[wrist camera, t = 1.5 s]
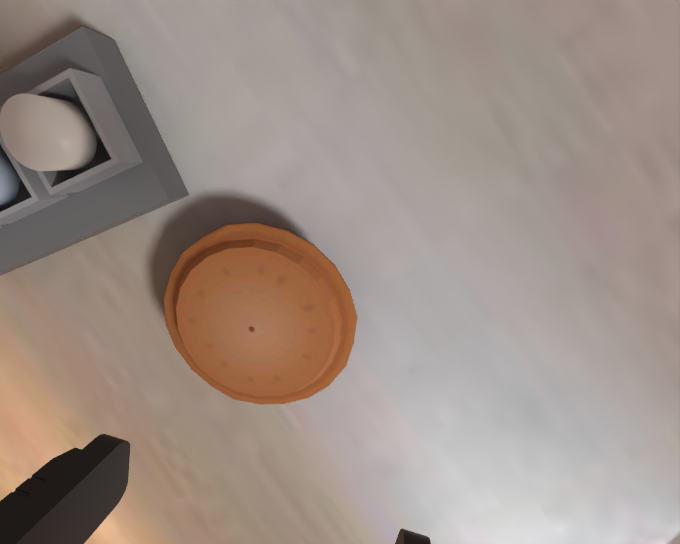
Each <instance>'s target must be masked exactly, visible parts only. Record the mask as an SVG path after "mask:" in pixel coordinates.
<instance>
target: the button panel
mask: <svg viewBox="0 0 680 544" xmlns="http://www.w3.org/2000/svg"><path fill="white" fill-rule="evenodd" d="M24 93H25V94H33V95H38V96H44V97H50V98H55V99H61V100H66V101H69V102H72V103H73V104H75V105H77V106H78V107H79V108H81V109H82V110H83V111H84V112H85V113H86V115H87V116H88V117H89V119H90V120H91V122H92V124H93V126H94V129H95V132H96V137H97V148H96V153H95V156H94V158H93V159H92V161H91V162H90V163H89V164H88V165H87V166H85V167H84V168H81V169H77V170H58V171H36V170H32V169H30V168H27V167H26V166H24V165H22V164H21V163H20V162H18V161H17V160H16V159H15V158H14V157H13V156H12V155H11V153H10V152H9V151H8V149H7V147H6V146H5V144H4V142H3V139H2V136H1V133H0V149H2V150H3V151H4V152H5V153H6V154H7V156H8V158H9V159H10V161H11V163H12V164H13V166H14V168H15V169H16V171H17V173H18V177H19V190H18V193H17V196H16V197H15V199H14V200H13V201H12V202H10V203H9V204H6V205H2V206H0V275H3V274H5V273H8V272H10V271H12V270H15V269H17V268H19V267H22V266H24V265H26V264H29V263H31V262H33V261H36V260H38V259H40V258H43V257H45V256H47V255H50V254H52V253H54V252H57V251H59V250H61V249H64V248H66V247H69V246H71V245H73V244H76V243H78V242H80V241H83V240H85V239H87V238H90V237H92V236H94V235H97V234H99V233H101V232H104V231H106V230H108V229H111V228H113V227H115V226H118V225H120V224H122V223H125V222H127V221H129V220H132V219H134V218H136V217H139V216H141V215H143V214H146V213H148V212H151V211H153V210H155V209H158V208H160V207H162V206H165V205H167V204H169V203H172V202H174V201H176V200H179V199H181V198H183V197H186V196H188V195H189V193H188V191H187V189H186V187H185V185H184V183H183V181H182V179H181V177H180V175H179V173H178V171H177V169H176V167H175V164H174V162H173V160H172V158H171V156H170V154H169V152H168V150H167V148H166V146H165V144H164V142H163V140H162V138H161V135H160V133H159V131H158V129H157V127H156V125H155V123H154V121H153V119H152V117H151V115H150V113H149V111H148V109H147V106H146V104H145V102H144V100H143V98H142V96H141V94H140V92H139V90H138V88H137V86H136V84H135V82H134V80H133V77H132V75H131V73H130V71H129V69H128V67H127V65H126V63H125V61H124V59H123V57H122V55H121V53H120V51H119V48H118V46H117V44H116V42H115V40H113V39H111V38H109V37H107V36H104V35H102V34H100V33H97V32H95V31H93V30H90V29H88V28H86V27H83V26H82V27H80V28H78V29H77V30H75V31H73V32H72V33H70V34H68V35H66V36H65V37H63V38H61V39H60V40H58V41H56V42H55V43H53V44H51V45H49V46H48V47H46V48H44V49H43V50H41V51H39V52H38V53H36V54H34V55H32V56H31V57H29V58H27V59H26V60H24V61H22V62H21V63H19V64H17V65H15V66H14V67H12V68H10V69H9V70H7V71H5V72H4V73H2V74H0V112H1V109H2V107H3V105H4V104H5V102H6V101H7V100H8V99H9V98H11V97H12V96H14V95H17V94H24Z"/></svg>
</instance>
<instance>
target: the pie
mask: <svg viewBox="0 0 680 544" xmlns="http://www.w3.org/2000/svg"><path fill="white" fill-rule="evenodd" d="M163 301H164V311H165V320H166V326H167V328H168V331H169V333H170V335H171V338H172V340H173V343H174V345H175V347H176V349H177V350H178V352H179V353H180V354H181V356H182V357H183V358H184V360H185V361H186V362H187V364H188V365H189V366H190V368H191V369H192V370H193V371H194V372H195V373H197V374H198V375H199V376H200V377H201V378H203V379H204V380H205V381H206V382H207V383H208V384H210V385H211V386H212V387H214V388H215V389H217V390H219V391H221V392H222V393H224V394H226V395H228V396H229V397H231V398H233V399H235V400H240V401H246V402H251V403H256V404H285V403H289V402H293V401H297V400H301V399H305V398H309V397H311V396H312V395H314V394H316V393H317V392H319V391H321V390H322V389H324V388H326V387H327V386H329V385H330V384H331V383H332V382H333V380H334V379H335V378H336V377H337V376H338V375H339V373H340V372H341V371H342V370H343V369H344V368H345V366H346V364H347V361H348V358H349V355H350V352H351V349H352V346H353V343H354V336H355V329H356V322H357V315H356V311H355V307H354V304H353V300H352V296H351V293H350V290H349V288H348V286H347V285H346V283H345V281H344V279H343V278H342V276H341V274H340V273H339V271H338V269H337V267H336V266H335V265H334V264H333V263H332V262H331V261H330V260H329V259H328V258H327V257H326V256H325V255H324V254H323V253H322V252H321V251H320V250H319V249H318V248H317V247H316V246H315V245H314V244H312V243H310V242H308V241H306V240H304V239H302V238H301V237H299V236H297V235H295V234H293V233H291V232H289V231H287V230H284V229H280V228H277V227H273V226H269V225H265V224H261V223H257V222H255V223H239V224H227V225H225V226H223V227H221V228H219V229H217V230H215V231H213V232H211V233H209V234H207V235H205V236H203V237H202V238H201V239H199V240H198V241H197V242H195V243H194V244H193V245H191V246H190V247H189V248H187V249H186V250H185V251H183V253H182V254H181V256H180V258H179V260H178V261H177V263H176V265H175V267H174V269H173V270H172V272H171V274H170V277H169V281H168V284H167V288H166V292H165V295H164V299H163Z"/></svg>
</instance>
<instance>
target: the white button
mask: <svg viewBox="0 0 680 544" xmlns="http://www.w3.org/2000/svg"><path fill="white" fill-rule="evenodd" d="M0 133H1V136H2V139H3V142H4V144H5V146H6V147H7V149H8V151H9V152H10V153H11V155H12V156H13V157H14V158H15V159H16V160H17V161H18V162H20V163H21V164H22V165H24V166H26V167H27V168H30V169H32V170H36V171H58V170H77V169H81V168H84V167H85V166H87V165H88V164H89V163H90V162H91V161H92V159H93V158H94V156H95V153H96V148H97V137H96V132H95V129H94V126H93V124H92V122H91V120H90V119H89V117H88V116H87V115H86V113H85V112H84V111H83V110H82V109H81V108H79V107H78V106H77V105H75V104H73V103H72V102H69V101H66V100H61V99H55V98H50V97H44V96H38V95H33V94H25V93H24V94H17V95H14V96H12V97H11V98H9V99H8V100H7V101H6V102H5V104H4V105H3V107H2V109H1V112H0Z"/></svg>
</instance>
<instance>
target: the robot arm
mask: <svg viewBox="0 0 680 544" xmlns="http://www.w3.org/2000/svg"><path fill="white" fill-rule="evenodd" d="M129 456H130V443H129V442H128V441H125V440H122V439H119V438H116V437H113V436H109V435H106V434H102V435H99V436H98V437H96V438H95V439H94V440H93V441H92V442H90V443H89V444H88V445H87V446H86V447H85V448H83V449H82V450H81V449H78V448H74V449H71V450H69V451H67V452H65V453H63V454H61V455H59V456H57V457H55V458H53V459H52V460H50V461H49V462H48V463H47V464H45V465H44V466H43V467H42V468H41V469H39V470H38V471H37V472H36V473H34V474H33V475H32V477H31V478H30V479H29V478H28V479H27V480H26V481H25V482H23V483H22V484H21V485H20V486H18V487H17V488H16V490H15V491H14V492H11V493H10V494H9V495H7V496H6V497H5V498H4V499H3V500H1V501H0V544H84V543H85V542H86V541H87V539H88V538H89V537H90V536H91V535H92V534H93V532H94V531H95V530H96V529H97V528H98V527H99V525H100V524H101V523H102V522H103V521H104V519H105V518H106V517H107V516H108V515H109V514H110V512H111V511H112V510H113V509H114V508H115V507H116V505H117V504H118V503H119V501H120V500H121V498H122V496H123V494H124V492H125V490H126V487H127V483H128V472H129ZM395 544H431V543H430V539H429V537H427V536H424V535H421V534H417V533H414V532H411V531H408V530H405V529H401V530H400V532H399V534H398V537H397V540H396V543H395Z"/></svg>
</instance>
